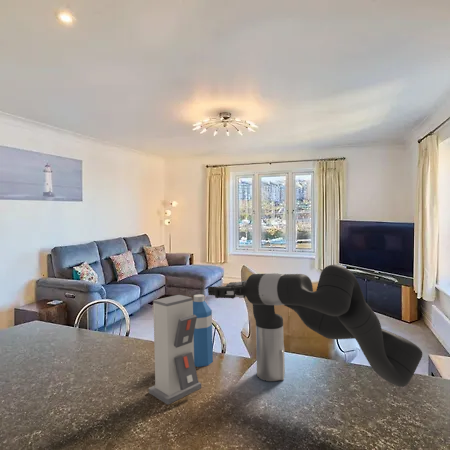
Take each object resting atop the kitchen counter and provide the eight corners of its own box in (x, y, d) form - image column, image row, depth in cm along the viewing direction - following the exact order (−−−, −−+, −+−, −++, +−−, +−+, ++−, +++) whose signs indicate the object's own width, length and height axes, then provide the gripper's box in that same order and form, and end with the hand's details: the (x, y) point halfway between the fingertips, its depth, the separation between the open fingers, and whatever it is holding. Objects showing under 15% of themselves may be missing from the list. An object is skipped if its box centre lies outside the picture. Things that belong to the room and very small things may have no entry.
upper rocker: (173, 345, 99) (178, 318, 97) (189, 340, 103) (194, 314, 101) (176, 348, 98) (181, 321, 96) (192, 342, 102) (197, 316, 100)
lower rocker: (180, 389, 97) (174, 358, 99) (196, 382, 102) (189, 352, 103) (183, 390, 96) (177, 358, 98) (199, 382, 101) (192, 352, 102)
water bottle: (214, 356, 129) (213, 292, 129) (211, 367, 120) (209, 298, 120) (190, 356, 130) (189, 292, 130) (185, 366, 121) (184, 298, 121)
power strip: (148, 392, 103) (146, 300, 103) (181, 378, 112) (179, 293, 112) (167, 404, 96) (165, 305, 96) (201, 387, 105) (199, 297, 105)
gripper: (252, 310, 74) (202, 307, 85) (286, 299, 85) (237, 298, 96) (249, 277, 75) (199, 277, 86) (283, 270, 86) (235, 272, 96)
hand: (219, 288), depth 91 cm, fingers open, 8 cm apart
